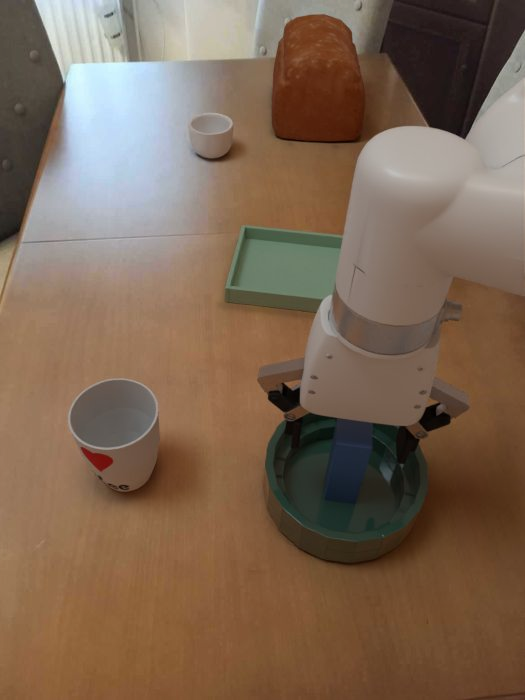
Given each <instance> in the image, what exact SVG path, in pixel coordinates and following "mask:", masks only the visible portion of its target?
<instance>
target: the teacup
mask: <svg viewBox="0 0 525 700" xmlns="http://www.w3.org/2000/svg"><path fill="white" fill-rule="evenodd" d="M187 128H188V135H189V136H188V137H189V141H190V146H191V147H192V149H193V150H194V152H195V153H196V154H197V155H198V156H200V157H202V158H204V159H205V158H206V159H218V158H221V157H223V156H225V155H226V154H228V152H229V151H230V149H231V148H232V144H233V138H234V137H233V136H234V123H233V120H232V118H230V117H229V116H227V115H225V114H222V113H218V112H203V113H199V114H196V115H194V116H193V117H191V118H190V119H189V121H188V127H187Z"/></svg>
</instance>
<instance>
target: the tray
mask: <svg viewBox="0 0 525 700" xmlns="http://www.w3.org/2000/svg"><path fill="white" fill-rule="evenodd" d="M240 227H241V228H240V231H239V234H238V237H237V238H238V239H237V243H236V244H235V245H236V246H235V248H234V249H235V250H234V252H233V258H232V261H231V264H230V268H229V272H228V276H227V279H226V283H225V287H224V301H225V303H231V304H239V305H240V304H241V305H248V306H257V307H266V308H274V309H284V310H292V311H301V312H309V313H317V311H318V309H319V306H320V305H321V303H322V301H323V300H324V299H325V298H326V297H327V296H329V295H333V289H334V284H335V279H336V273H337V267H338V261H339V256H340V250H341V245H342V239H343V234H333V233H323V232H316V231H315V232H314V231H306V230H305V231H304V230H297V229H296V230H295V229H286V228H278V227H268V226H260V225H259V226H257V225H250V224H242V225H241V226H240Z"/></svg>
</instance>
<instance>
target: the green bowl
mask: <svg viewBox="0 0 525 700" xmlns="http://www.w3.org/2000/svg"><path fill="white" fill-rule="evenodd" d="M336 422H337V418H335V417H328V416H322V415H317V414H314V413H309V414H307V415H305V416H303V422H302V429H301V435H300V442H299V448H297V447H296V449H293V448H291V441H292V435H289V434H285V427H286V420H285V419H284V420H283V421H281V422H280V423H279V424H278V425H277V426H276V429H275V430H274V432H273V434H272V436H271V437H270V439H269V441H268V443H267V447H266V454H265V461H264V469H263V485H262V487H263V488H262V489H263V494H264V498H265V503H266V509H267V510H268V513H269V514H270V516H271V518H272V519H273V521H274V523H275V524H276V526H277V528H278V530H279V531H280V533H282V534H283V535H284V536H285V537H286V538H288V539H289V540H290V541H291V542H292V543H293V544H294V545H295V546H297V548H299V549H300V550H302V551H305V552H307V553H309V554H311V555H313V556H315V557H317V558H319V559H322V560H326V561H331V562H333V561H334V562H340V563H345V564H353V563H359V562H365V561H371V560H376V559H378V558H380V557H382V556H384V555H385V554H387V553H389V552H391V551H393V550H394V549H396V548H398V547H399V545H400V544H402V542H403V541H404V539H405V538H406V537H407V536H408V535H409V534H410V533H411V531H412V530H413V528H414V526H415V523H416V521H417V519H418V517H419V515H420V513H421V510H422V509H423V505H424V502H425V499H426V497H427V493H428V490H429V483H430V482H429V470H428V469H429V468H428V462H427V460H426V457H425V455H424V452H423V451H422V448H421V445H420V444H419V443H420V442H419V443H418V446H417V448H416V451H415V452H410V453H409V455H408V458H407V460H406V463H405V464H399V462H397V457H396V435H397V432H398V429H399V427H400V426H396V425H387V424H378V423H373V435H372V451H371V454H370V458H369V461H368V464H367V468H366V471H365V474H364V478H363V481H362V484H361V488H360V491H359V495H358V498H357V501H356V503H348V502H340V501H333V500H326V499H324V493H325V480H326V470H327V465H328V460H329V456H330V451H331V446H332V441H333V436H334V431H335V427H336Z"/></svg>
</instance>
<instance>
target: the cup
mask: <svg viewBox="0 0 525 700" xmlns="http://www.w3.org/2000/svg"><path fill="white" fill-rule="evenodd" d="M67 424H68V428H69V430H70V433H71V435H72V437H73V439H74V441H75V443H76V445H77V447H78V450H79V452H80V454H81V456H82V458H83V459H84V461H85V463H87V465H88V467H89V468H90V469H91V471H92V472H93V474H94V475H95V476H96V477H97V478H98V479H99V480H100V481H101V482H102V483H104V484H105V485H106V486H108V487H109V488H110V489H112V490H114V491H117V492H122V493H127V492H128V493H129V492H132V491H136V490H138V489H140V488H142V487H143V486H144V485H146V483H147V482H148V481H149V479H150V478H151V475H152V473H153V471H154V468H155V465H156V464H157V460H158V455H159V445H160V438H161V437H160V436H161V434H160V433H161V432H160V416H159V403H158V399H157V397H156V395H155V394H154V392H153V391H152V390H151V389H150V388H149V387H148V386H146V385H145V384H143V383H142V382H139V381H137V380H134V379H131V378H123V377H121V378H117V377H116V378H107V379H104V380H101V381H98V382H95V383H94V384H92V385H89V386H88V387H86V388H85V389H84V390H83V391H81V392H80V393H79V394H78V395H77V396H76V398H75V399H74V400H73V401H72V403H71V405H70V407H69V410H68V414H67Z"/></svg>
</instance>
